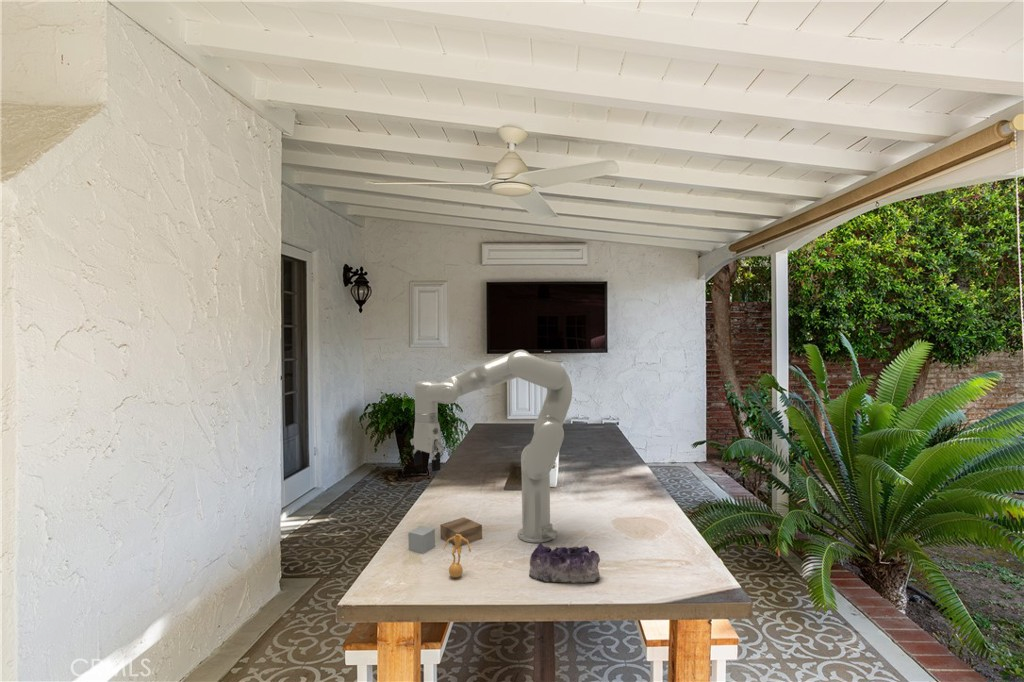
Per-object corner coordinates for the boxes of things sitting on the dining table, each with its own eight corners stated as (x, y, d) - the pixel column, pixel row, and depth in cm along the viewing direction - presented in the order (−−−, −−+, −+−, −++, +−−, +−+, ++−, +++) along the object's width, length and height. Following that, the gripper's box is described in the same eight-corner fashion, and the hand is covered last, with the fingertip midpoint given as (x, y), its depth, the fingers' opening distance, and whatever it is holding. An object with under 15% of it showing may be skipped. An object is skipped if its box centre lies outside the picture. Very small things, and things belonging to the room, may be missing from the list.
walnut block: (482, 539, 190) (481, 524, 190) (458, 547, 184) (457, 532, 183) (464, 531, 198) (463, 517, 198) (440, 539, 191) (440, 524, 191)
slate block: (435, 547, 184) (434, 529, 184) (423, 554, 179) (422, 535, 179) (420, 543, 187) (420, 525, 187) (408, 550, 182) (408, 532, 182)
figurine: (439, 578, 162) (439, 537, 161) (446, 569, 168) (446, 529, 167) (467, 581, 160) (466, 540, 159) (473, 571, 166) (473, 532, 165)
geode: (530, 588, 156) (528, 551, 157) (528, 575, 167) (526, 540, 168) (603, 584, 156) (600, 547, 157) (596, 571, 168) (594, 536, 168)
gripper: (451, 419, 186) (452, 470, 187) (420, 413, 198) (420, 461, 199) (433, 422, 180) (434, 475, 181) (402, 415, 193) (402, 465, 193)
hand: (427, 467), depth 190 cm, fingers open, 9 cm apart
